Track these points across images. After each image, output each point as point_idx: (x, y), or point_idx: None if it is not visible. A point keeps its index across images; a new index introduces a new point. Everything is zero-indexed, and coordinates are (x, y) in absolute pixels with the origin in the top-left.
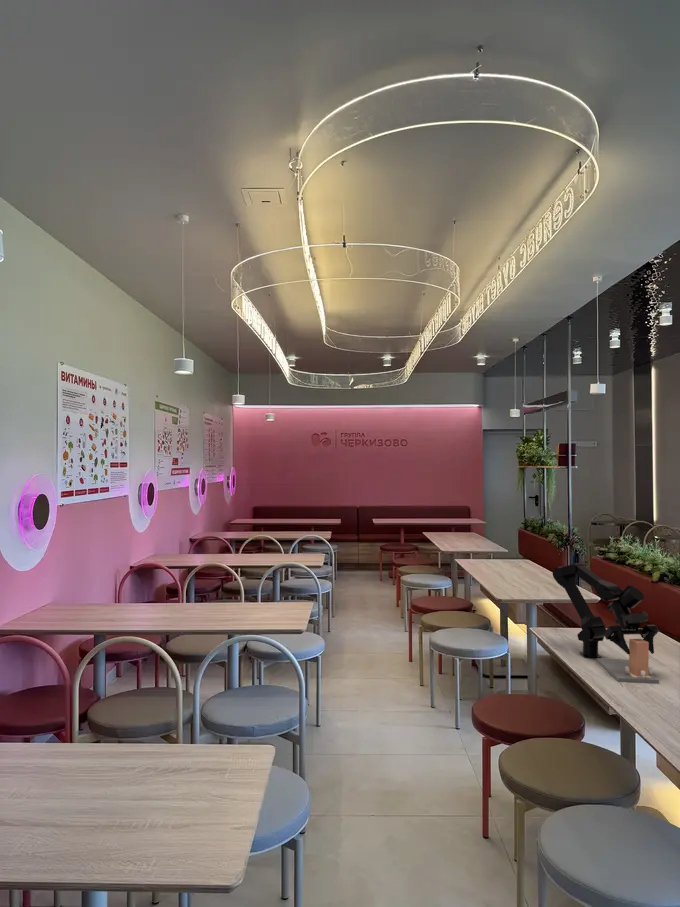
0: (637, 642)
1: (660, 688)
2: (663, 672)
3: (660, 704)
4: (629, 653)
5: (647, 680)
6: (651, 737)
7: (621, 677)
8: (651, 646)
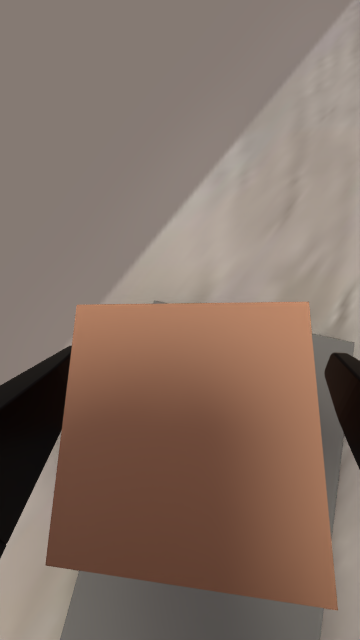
0: (297, 306)
1: (187, 260)
2: None
3: (293, 124)
4: (339, 353)
5: None
6: None
7: (328, 348)
8: (36, 380)
